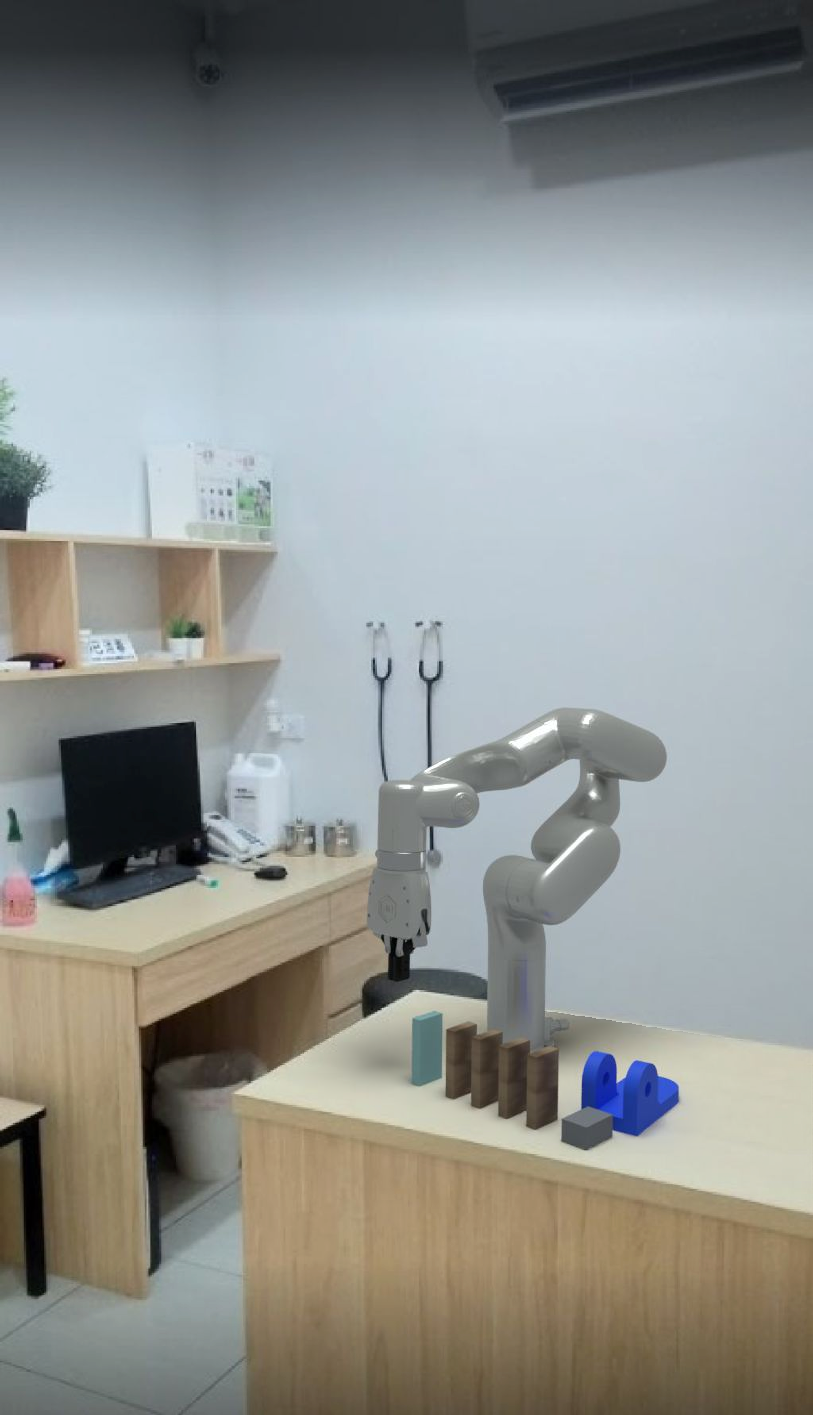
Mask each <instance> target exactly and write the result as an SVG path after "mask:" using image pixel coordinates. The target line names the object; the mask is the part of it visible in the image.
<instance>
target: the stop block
mask: <svg viewBox="0 0 813 1415" xmlns="http://www.w3.org/2000/svg"><path fill="white" fill-rule="evenodd" d="M613 1132H614V1130H613V1115H612V1114H609V1113H606V1112H603V1111H600V1110H597V1109H594V1108H591V1107H589V1106H588V1107H586V1108H584V1109H581V1108H580V1109H579V1110H577V1111H575V1112H573V1113H571V1114H569V1115H566V1116H565V1117H563V1118H561V1137H560V1138H561V1140H560V1141H561V1142H564V1143H566V1144H569V1145H571V1146H574V1147H576V1148H578V1149H579V1148H580V1149H582V1150H585V1151H588V1150H589V1149H591V1148H593V1147H595V1146H597V1145H600V1144H601V1143H603V1142H606V1140H609V1139H611V1138H613Z"/></svg>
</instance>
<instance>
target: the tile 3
mask: <svg viewBox="0 0 813 1415" xmlns="http://www.w3.org/2000/svg"><path fill="white" fill-rule="evenodd" d="M484 1032H485V1033H484ZM484 1032H482V1033H479V1034H477V1035H476V1036H473V1037H472V1061H471V1093H470V1106H471V1107H473V1108H475V1109H478V1110H481V1109H483V1108H485V1107H488V1106H490V1105H493V1104H496V1103H498V1083H499V1045H502V1044H503V1032H502V1031H499V1030H495V1029H493V1030H490V1031H488V1032H486V1031H484Z"/></svg>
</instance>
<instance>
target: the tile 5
mask: <svg viewBox="0 0 813 1415" xmlns="http://www.w3.org/2000/svg"><path fill="white" fill-rule="evenodd" d="M559 1054H560V1049H559V1048H558V1047H555V1046H554V1047H552V1046H548V1047H545V1048H543V1049H540V1050H538V1051H535V1052H532V1053H530V1054H527V1111H526V1117H525V1118H526V1121H525V1122H526V1124H525V1125H526V1127H527V1128H529V1129H532V1130H536V1131H537V1130H538V1129H541V1128H543V1127H545V1126H547V1125H549V1124H551V1123H553V1122H556V1121H558V1119H559V1064H560V1063H559V1062H560V1061H559V1060H560V1056H559Z"/></svg>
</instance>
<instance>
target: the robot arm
mask: <svg viewBox="0 0 813 1415" xmlns="http://www.w3.org/2000/svg"><path fill="white" fill-rule="evenodd" d="M667 756H668V753H667V749H666V746H665V745H664V742H663V741H662V740H661V739H660V737H659V736H657V734H655V733H653V732H652V731H649V730H647V729H645V728H643V727H640V726H638V725H636V724H634V723H630V721H627V720H624V719H622V718H620V717H617V716H615V715H613V714H609V713H608V712H605V711H601V710H598V709H592V708H581V707H580V708H579V707H577V708H576V707H560V708H555V709H552V710H550V711H548V712H547V713H545V714H543V715H541V716H539V717H538V718H535V719H534V720H531V721H530V722H529V723H527V724H525V725H523V726H522V727H520V728H518V729H516V730H515V731H512V732H511V733H509V734H507V735H506V736H503V737H502V738H500V739H498V740H496V741H491V742H488V743H486V744H482V745H479V746H477V747H475V748H471V749H468V750H466V751H462V752H459V753H457V754H454V755H451V756H449V757H447V758H444V759H442V760H440V761H438V762H436V763H435V764H432V765H430V766H429V767H427V768H426V769H424V770H422V771H420V772H418V773H417V774H416V775H414V776H413V777H412V778H411V779H395V780H394V779H393V780H386V781H384V782H383V783H381V785H380V786H379V790H378V806H377V807H378V808H377V812H378V813H377V849H376V850H375V853H374V855H375V857H376V866H375V867H373V869H372V873H371V877H370V882H369V887H368V888H369V889H368V894H367V896H368V897H367V904H366V906H367V907H366V926H367V928H368V929H369V930H370V931H371V932H372V934H373V935H374V936H375V937H376V938H377V939H380V940H381V941H382V943H383V945H384V951H385V953H386V954H387V955H388V956H387V957H388V958H387V980H389V981H392V982H395V983H398V982H402V981H406V980H410V977H411V976H410V974H411V973H410V972H411V971H410V970H411V967H410V966H411V955H412V954H414V951H415V950H416V949H417V948H422V947H426V946H428V943H429V942H428V935H429V934H430V932H431V929H432V928H431V927H432V898H431V897H432V896H431V887H430V879H429V874H428V871H427V870H426V866H427V865H426V864H427V835H428V834H427V832H428V830H427V829H428V827H437V828H446V829H457V828H462V827H465V826H467V825H469V824H470V823H471V822H472V821H474V820H475V818H476V817H477V815H478V814H479V810H480V798H479V796H478V794H480V793H485V792H493V791H506V790H511V789H517V788H520V787H523V786H526V785H529V784H530V783H531V782H533V781H535V780H536V779H538V778H540V777H541V776H543V775H544V774H545V775H546V773H547V772H551V770H553V769H555V768H557V767H558V766H560V765H561V764H562V765H563V763H566V762H567V761H570V760H579V779H578V783H577V787H576V789H575V790H574V791H573V793H572V794H571V795H570V796H569V797H568V799H567V800H566V801H564V803H562V805H561V806H559V808H557V809H556V810H555V811H554V812H553V813H552V814H551V815H550V816H549V817H548V818H547V819H546V820H545V821H544V822H543V823H542V824H541V825H540V826H539V828H538V829H536V831H535V832H534V833H533V836H532V839H531V841H530V851H531V854H532V856H533V858H530V857H527V856H522V855H517V854H516V855H515V854H513V855H512V854H511V855H510V854H508V855H504V856H500V857H499V858H496V859H495V860H493V861H492V862H491V863H490V864H489V865H488V866H487V868H486V870H485V873H484V874H483V875H484V877H483V879H482V896H483V901H484V906H485V914H486V922H487V987H486V988H487V996H486V999H487V1001H486V1002H487V1005H486V1006H487V1008H486V1009H487V1010H486V1031H484V1032H483V1033H485V1032H488V1031H490V1030H493V1029H495V1030H499V1031H502V1032H503V1044H505V1043H507V1042H510V1041H513V1040H516V1039H518V1038H521V1037H522V1038H525V1039H529V1040H530V1053H532V1052H535V1051H538V1050H540V1049H543V1048H545V1047H548V1046H552V1047H555V1041H554V1039H553V1037H551V1035H553V1034H554V1033H555V1032H563V1031H567V1030H569V1028H570V1022H569V1020H568V1018H566V1017H564V1018H558V1019H554V1018H553V1017H552V1016H547V1017H546V971H547V970H546V966H547V965H546V959H547V957H546V956H547V939H546V933H545V927H544V925H546V926H557V925H560V924H562V923H565V922H566V921H568V920H569V919H570V918H572V917H573V916H574V915H575V914H576V913H578V911H579V910H580V909H581V908H582V907H583V906H584V905H585V904H586V903H587V902H588V901H589V899H590V898H591V897H592V896H593V895H594V894H595V893H596V892H598V890H599V889H600V888H601V887H602V886H603V885H604V884H605V883H606V882H607V881H608V879H609V878H610V877H611V876H612V874H613V873H614V872H615V870H616V868H617V866H618V863H619V861H620V856H621V842H620V839H619V836H618V835H617V834H618V833H616V831H615V830H614V829H613V828H612V827H613V824H615V822H616V820H617V819H618V817H619V814H620V810H621V793H620V780H623V781H631V782H634V783H635V782H638V783H648V782H651V781H653V780H655V779H656V778H658V777H659V776H660V775H661V774H662V773H663V771H664V769H665V767H666V765H667V759H668V758H667Z"/></svg>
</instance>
